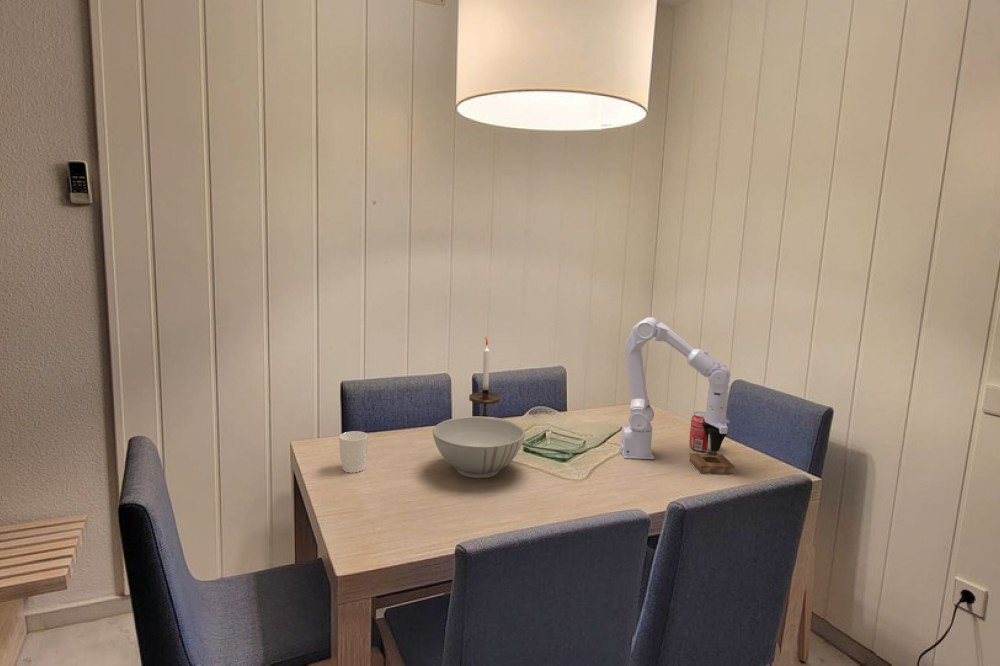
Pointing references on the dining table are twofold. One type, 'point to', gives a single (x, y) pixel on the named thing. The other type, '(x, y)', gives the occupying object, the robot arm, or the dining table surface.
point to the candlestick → (485, 387)
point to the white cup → (353, 451)
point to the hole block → (711, 463)
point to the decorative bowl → (478, 444)
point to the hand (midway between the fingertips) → (712, 448)
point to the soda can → (698, 432)
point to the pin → (710, 448)
